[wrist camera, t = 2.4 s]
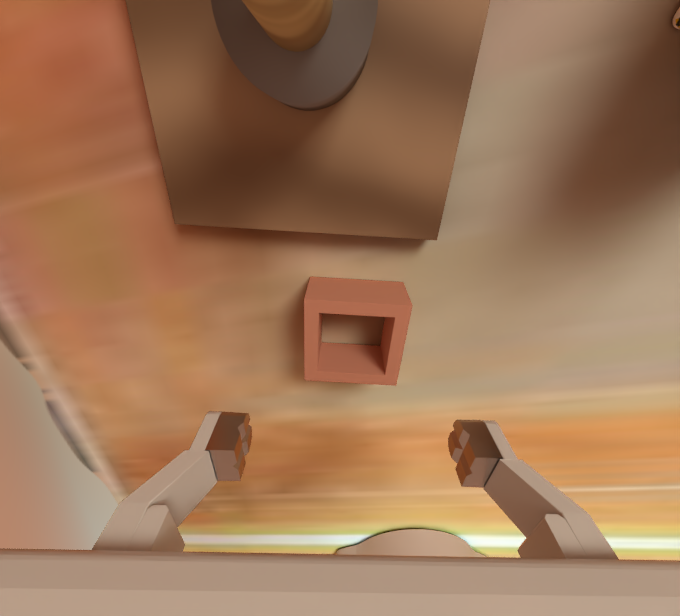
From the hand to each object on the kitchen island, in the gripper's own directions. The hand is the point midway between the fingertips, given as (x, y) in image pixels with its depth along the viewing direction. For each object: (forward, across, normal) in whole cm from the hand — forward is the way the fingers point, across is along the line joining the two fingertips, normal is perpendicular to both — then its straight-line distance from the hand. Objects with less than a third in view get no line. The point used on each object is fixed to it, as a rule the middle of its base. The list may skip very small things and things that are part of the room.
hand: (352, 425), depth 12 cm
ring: (+9, 0, +1) cm, 9 cm away
